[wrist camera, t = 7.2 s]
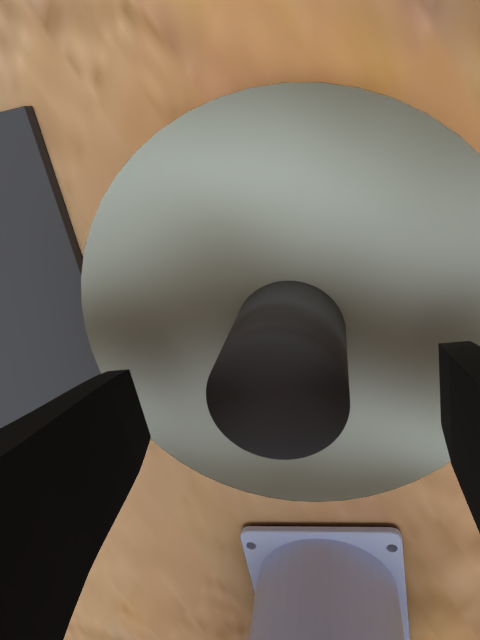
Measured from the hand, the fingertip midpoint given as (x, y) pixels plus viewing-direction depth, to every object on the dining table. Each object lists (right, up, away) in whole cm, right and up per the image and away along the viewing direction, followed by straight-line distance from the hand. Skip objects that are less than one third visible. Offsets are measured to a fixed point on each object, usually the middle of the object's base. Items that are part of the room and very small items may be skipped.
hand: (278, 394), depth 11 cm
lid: (+1, +2, +3) cm, 4 cm away
